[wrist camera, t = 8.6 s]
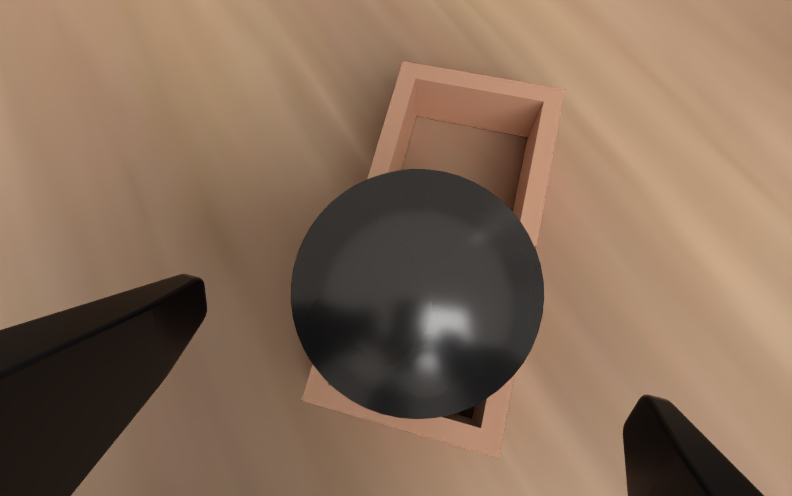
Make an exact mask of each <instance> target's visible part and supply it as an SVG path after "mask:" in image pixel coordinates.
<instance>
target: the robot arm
mask: <svg viewBox="0 0 792 496" xmlns="http://www.w3.org/2000/svg"><path fill="white" fill-rule="evenodd" d="M206 313H207V303H206V294H205V285H204V282H203V280H202V279H201V278H199V277H196V276H192V275H188V274H180V275H177V276H174V277H171V278H167V279H164V280H161V281H158V282H154V283H151V284H148V285H145V286H142V287H138V288H135V289H132V290H129V291H125V292H122V293H119V294H116V295H112V296H109V297H106V298H103V299H99V300H96V301H93V302H90V303H87V304H83V305H80V306H77V307H74V308H70V309H67V310H64V311H61V312H57V313H54V314H51V315H48V316H44V317H41V318H38V319H35V320H31V321H28V322H25V323H22V324H19V325H15V326H12V327H9V328H6V329H2V330H0V496H71V495H72V493H73V492H74V491H75V490H76V488H77V487H78V486H79V485H80V484H81V482H82V481H83V480H84V479H85V477H86V476H87V475H88V474H89V472H90V471H91V470H92V469H93V467H94V466H95V465H96V464H97V462H98V461H99V460H100V459H101V458H102V456H103V455H104V454H105V453H106V451H107V450H108V449H109V448H110V446H111V445H112V444H113V443H114V441H115V440H116V439H117V438H118V436H119V435H120V434H121V433H122V432H123V430H124V429H125V428H126V427H127V425H128V424H129V423H130V422H131V420H132V419H133V418H134V417H135V415H136V414H137V413H138V412H139V410H140V409H141V408H142V407H143V406H144V404H145V403H146V402H147V401H148V399H149V398H150V397H151V396H152V394H153V393H154V392H155V391H156V389H157V388H158V387H159V386H160V384H161V383H162V382H163V380H164V379H165V378H166V376H167V375H168V374H169V372H170V371H171V369H172V368H173V366H174V365H175V363H176V362H177V360H178V359H179V357H180V356H181V354H182V352H183V351H184V349H185V348H186V346H187V345H188V343H189V342H190V340H191V339H192V337H193V336H194V334H195V333H196V331H197V329H198V328H199V326H200V325H201V323H202V322H203V320H204V318H205V316H206ZM623 443H624V455H625V467H626V479H627V491H628V496H764V495H763V494H762V493H761V492H760V491H759V490H758V489H757V488H756V487H755V486H754V485H753V484H752V483H751V482H750V481H749V480H748V479H747V478H746V477H745V476H744V475H743V474H742V473H741V472H740V471H739V470H738V469H737V468H736V467H735V466H734V465H733V464H732V463H731V462H730V461H729V460H728V459H727V458H726V457H725V456H724V455H723V454H722V453H721V452H720V451H719V450H718V449H717V448H716V447H715V446H714V445H713V444H712V443H711V442H710V441H709V440H708V439H707V438H706V437H705V436H704V435H703V434H702V433H701V432H700V431H699V430H698V429H697V428H696V427H695V426H694V425H693V424H692V423H691V422H690V421H689V420H688V419H687V418H686V417H685V416H684V415H683V414H682V413H681V412H680V411H679V410H678V409H677V408H676V407H675V406H674V405H673V404H672V403H671V402H670V401H668V400H666V399H663V398H659V397H655V396H652V395H643V396H642V397H641V398H640V399H639V400H638V402H637V404H636V405H635V407H634V408H633V410H632V412H631V413H630V415H629V417H628V418H627V420H626V422H625V424H624V428H623Z"/></svg>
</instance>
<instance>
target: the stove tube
mask: <svg viewBox="0 0 792 496" xmlns="http://www.w3.org/2000/svg"><path fill="white" fill-rule="evenodd" d="M543 304H544V282H543V276H542V270H541V265H540V262H539V258H538V255H537V252H536V249H535V247H534V245H533V243H532V240H531V238H530V236H529V234H528V233H527V231H526V229H525V228H524V226H523V225H522V223H521V222H520V220H519V219H518V218H517V217H516V215H515V214H514V213H513V212H512V211H511V209H510V208H509V207H507V206H506V205H505V204H504V203H503V202H502V201H501V200H500V199H499V198H498V197H496V196H495V195H493V194H492V193H491V192H489V191H488V190H487V189H485V188H483V187H481V186H480V185H478V184H476V183H474V182H472V181H470V180H467V179H465V178H462V177H460V176H457V175H453V174H450V173H446V172H441V171H435V170H425V169H410V170H399V171H394V172H389V173H384V174H381V175H378V176H375V177H372V178H369V179H367V180H365V181H363V182H361V183H359V184H357V185H355V186H353V187H352V188H350V189H349V190H347V191H345V192H344V193H342V194H341V195H340V196H339V197H337V198H336V199H335V200H334V201H333V202H331V203H330V204H329V205H328V206H327V207H326V208H325V210H324V211H323V212H322V213H321V214H320V215H319V216H318V218H317V219H316V220H315V222H314V223H313V224H312V226H311V227H310V229H309V231H308V233H307V234H306V236H305V238H304V240H303V242H302V244H301V247H300V249H299V252H298V254H297V258H296V261H295V265H294V269H293V275H292V283H291V305H292V313H293V319H294V323H295V327H296V330H297V334H298V337H299V339H300V341H301V344H302V346H303V348H304V350H305V352H306V354H307V356H308V357H309V359H310V361H311V362H312V364H313V365H314V367H315V368H316V369H317V370H318V372H319V373H320V374H321V375H322V377H323V378H324V379H325V380H326V381H327V382H328V383H329V384H330V385H331V386H332V387H333V388H335V389H336V390H337V391H338V392H340V393H341V394H342V395H344V396H345V397H347V398H348V399H349V400H351V401H353V402H355V403H357V404H359V405H360V406H362V407H364V408H366V409H369V410H372V411H375V412H377V413H380V414H383V415H388V416H393V417H397V418H407V419H428V418H438V417H442V416H447V415H452V414H455V413H458V412H460V411H463V410H466V409H469V408H471V407H473V406H475V405H476V404H478V403H480V402H482V401H484V400H486V399H487V398H488V397H490V396H491V395H493V394H494V393H495V392H497V391H498V390H499V389H501V388H502V387H503V386H504V385H505V384H506V383H507V382H508V381H509V380H510V379H511V378H512V377H513V376H514V374H515V373H516V372H517V370H518V369H519V368H520V367H521V365H522V364H523V363H524V361H525V359H526V357H527V356H528V354H529V352H530V350H531V349H532V346H533V344H534V341H535V339H536V336H537V334H538V331H539V327H540V323H541V319H542V313H543Z"/></svg>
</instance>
